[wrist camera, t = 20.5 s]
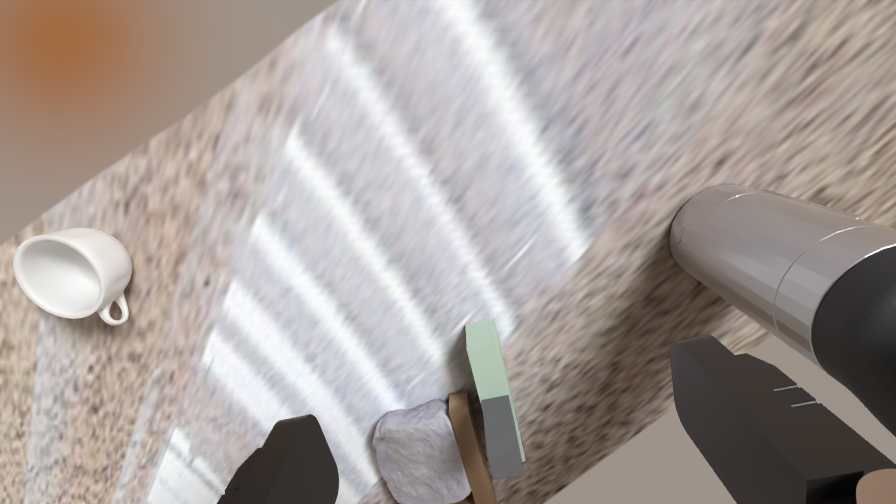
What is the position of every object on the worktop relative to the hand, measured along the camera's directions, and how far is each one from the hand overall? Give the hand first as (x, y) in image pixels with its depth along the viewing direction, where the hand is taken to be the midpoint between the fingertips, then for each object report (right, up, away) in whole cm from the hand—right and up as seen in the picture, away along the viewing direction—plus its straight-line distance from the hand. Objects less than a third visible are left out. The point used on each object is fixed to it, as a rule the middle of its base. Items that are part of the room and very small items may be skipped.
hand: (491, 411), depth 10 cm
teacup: (-34, +2, +33) cm, 48 cm away
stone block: (-4, -19, +40) cm, 45 cm away
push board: (+4, -10, +37) cm, 38 cm away
